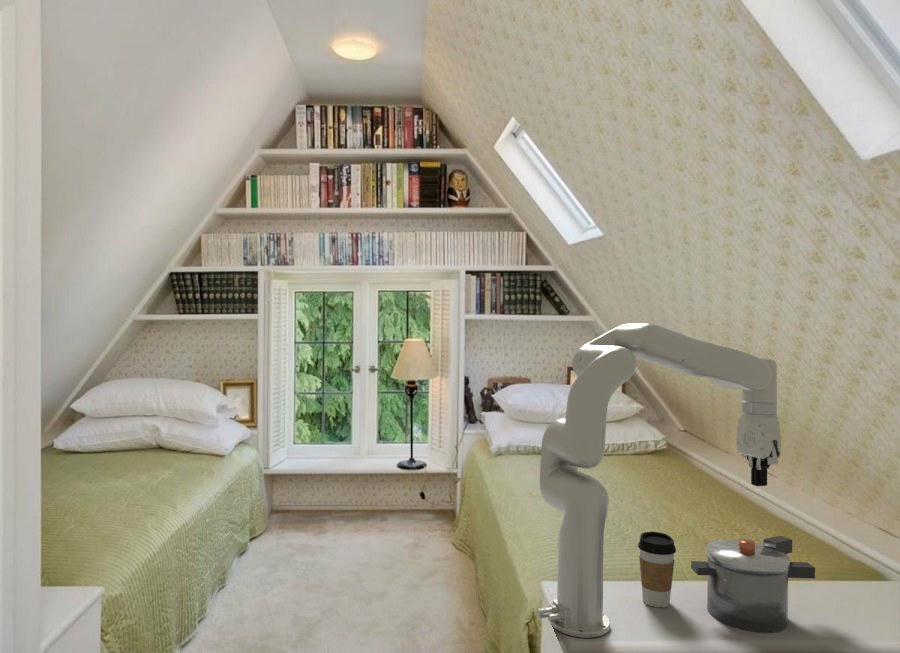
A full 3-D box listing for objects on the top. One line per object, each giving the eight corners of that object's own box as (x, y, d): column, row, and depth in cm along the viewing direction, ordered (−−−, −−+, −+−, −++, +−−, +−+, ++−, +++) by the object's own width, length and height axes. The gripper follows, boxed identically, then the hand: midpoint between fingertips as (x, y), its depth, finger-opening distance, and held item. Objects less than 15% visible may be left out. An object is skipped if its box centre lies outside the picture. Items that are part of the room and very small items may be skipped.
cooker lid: (757, 579, 122) (757, 559, 122) (690, 553, 137) (690, 535, 137) (822, 562, 132) (822, 544, 132) (753, 539, 147) (753, 523, 147)
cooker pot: (707, 630, 125) (708, 572, 126) (681, 597, 141) (681, 546, 142) (832, 635, 124) (832, 577, 125) (791, 601, 140) (791, 549, 141)
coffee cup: (670, 595, 143) (670, 532, 143) (680, 611, 134) (680, 544, 134) (633, 593, 143) (634, 530, 144) (641, 609, 135) (642, 542, 135)
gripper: (725, 405, 151) (724, 478, 151) (768, 413, 137) (768, 494, 137) (750, 405, 153) (750, 477, 153) (796, 412, 138) (796, 492, 138)
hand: (759, 485), depth 145 cm, fingers closed
